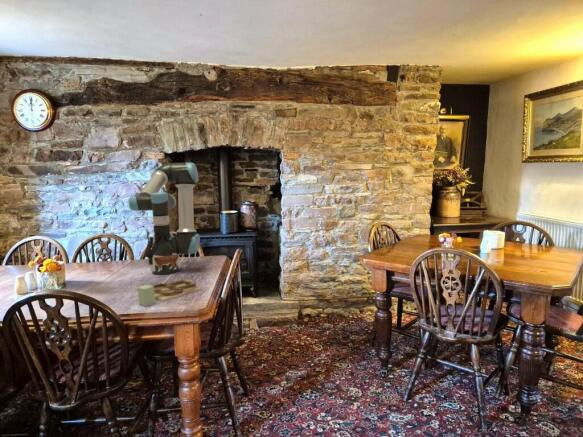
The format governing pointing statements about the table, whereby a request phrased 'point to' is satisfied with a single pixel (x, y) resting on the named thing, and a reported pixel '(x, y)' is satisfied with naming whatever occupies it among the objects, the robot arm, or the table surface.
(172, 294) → the beech board
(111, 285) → the table surface
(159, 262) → the bull figurine
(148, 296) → the sage-green tail block
